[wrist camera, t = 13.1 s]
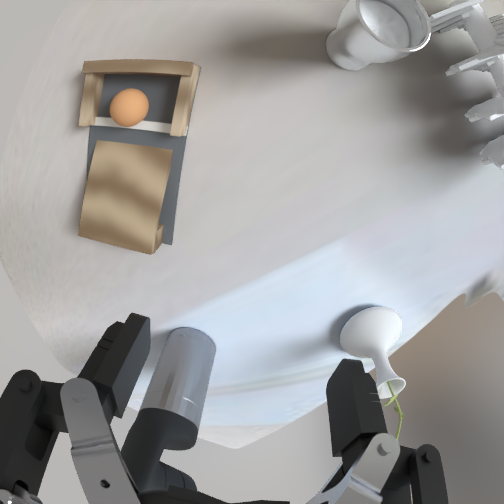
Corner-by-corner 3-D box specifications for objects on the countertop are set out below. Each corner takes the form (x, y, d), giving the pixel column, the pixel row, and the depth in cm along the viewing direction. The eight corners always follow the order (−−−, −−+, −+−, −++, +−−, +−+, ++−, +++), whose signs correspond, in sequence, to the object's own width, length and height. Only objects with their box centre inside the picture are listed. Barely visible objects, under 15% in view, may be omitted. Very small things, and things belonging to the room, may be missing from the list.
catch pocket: (186, 134, 33) (176, 137, 30) (90, 123, 33) (74, 126, 29) (200, 67, 29) (191, 62, 26) (100, 63, 28) (84, 61, 25)
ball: (154, 120, 33) (156, 85, 30) (136, 134, 30) (138, 95, 26) (122, 117, 33) (122, 83, 29) (102, 131, 29) (101, 93, 26)
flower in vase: (331, 313, 45) (357, 457, 23) (396, 291, 42) (455, 421, 20) (346, 360, 50) (366, 480, 28) (401, 342, 47) (441, 455, 25)
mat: (172, 244, 41) (170, 246, 40) (87, 224, 40) (85, 226, 40) (201, 67, 29) (199, 66, 29) (100, 63, 29) (97, 63, 28)
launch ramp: (164, 239, 42) (150, 258, 37) (97, 224, 41) (78, 239, 36) (175, 148, 35) (159, 155, 30) (100, 138, 35) (77, 145, 30)
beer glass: (372, 80, 28) (431, 67, 15) (318, 66, 28) (349, 37, 15) (378, 34, 25) (434, 0, 12) (325, 19, 25) (355, -31, 12)
